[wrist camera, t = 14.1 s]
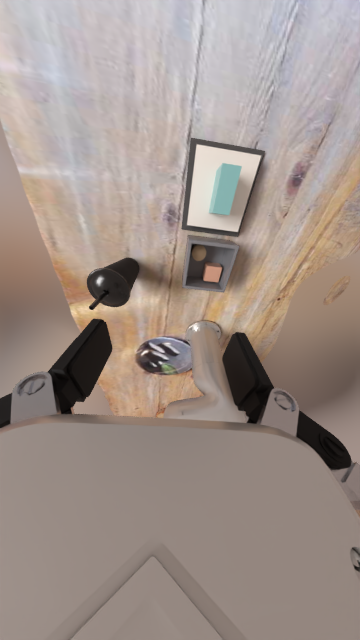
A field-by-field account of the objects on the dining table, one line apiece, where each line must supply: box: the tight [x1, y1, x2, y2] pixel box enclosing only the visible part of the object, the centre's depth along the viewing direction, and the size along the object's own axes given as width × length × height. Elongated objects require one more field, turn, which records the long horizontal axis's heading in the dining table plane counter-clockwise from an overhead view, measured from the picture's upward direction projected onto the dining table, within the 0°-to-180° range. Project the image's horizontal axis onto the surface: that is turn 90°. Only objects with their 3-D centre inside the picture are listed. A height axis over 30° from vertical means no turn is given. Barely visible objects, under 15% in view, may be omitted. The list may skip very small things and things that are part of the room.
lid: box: [187, 144, 261, 232], centre depth 26 cm, size 11×11×6 cm
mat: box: [182, 138, 265, 237], centre depth 28 cm, size 13×13×1 cm
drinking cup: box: [87, 258, 139, 310], centre depth 29 cm, size 8×8×20 cm
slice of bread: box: [156, 408, 166, 418], centre depth 94 cm, size 18×18×4 cm
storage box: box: [182, 235, 239, 292], centre depth 33 cm, size 10×10×7 cm
